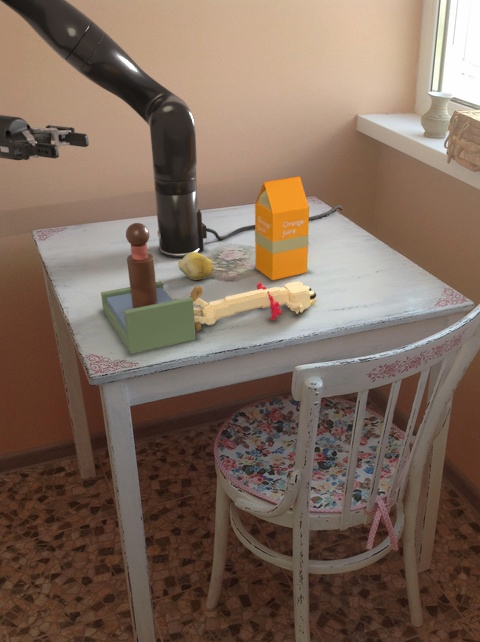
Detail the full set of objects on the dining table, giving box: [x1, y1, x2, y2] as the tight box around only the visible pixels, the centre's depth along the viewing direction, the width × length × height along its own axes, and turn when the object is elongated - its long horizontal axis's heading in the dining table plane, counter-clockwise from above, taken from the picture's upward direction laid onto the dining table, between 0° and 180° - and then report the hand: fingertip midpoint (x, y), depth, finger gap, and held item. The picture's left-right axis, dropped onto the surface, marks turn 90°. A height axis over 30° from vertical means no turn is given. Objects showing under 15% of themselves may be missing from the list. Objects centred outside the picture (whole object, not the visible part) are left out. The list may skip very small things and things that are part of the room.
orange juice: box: [254, 175, 310, 281], centre depth 148 cm, size 8×9×20 cm
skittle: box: [125, 222, 158, 309], centre depth 124 cm, size 5×5×16 cm
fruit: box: [177, 252, 225, 281], centre depth 148 cm, size 6×6×10 cm
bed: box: [100, 281, 197, 355], centre depth 129 cm, size 12×18×8 cm, turn 27°
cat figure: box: [189, 280, 319, 332], centre depth 132 cm, size 10×9×25 cm
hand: (72, 146), depth 124 cm, fingers open, 8 cm apart
